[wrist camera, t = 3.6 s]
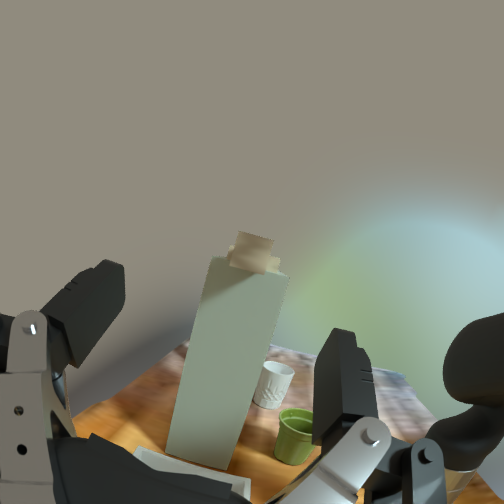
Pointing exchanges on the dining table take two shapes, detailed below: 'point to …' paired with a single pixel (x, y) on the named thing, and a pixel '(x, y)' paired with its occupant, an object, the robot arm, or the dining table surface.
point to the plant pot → (294, 436)
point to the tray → (192, 470)
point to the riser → (224, 361)
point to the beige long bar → (253, 254)
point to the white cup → (273, 384)
